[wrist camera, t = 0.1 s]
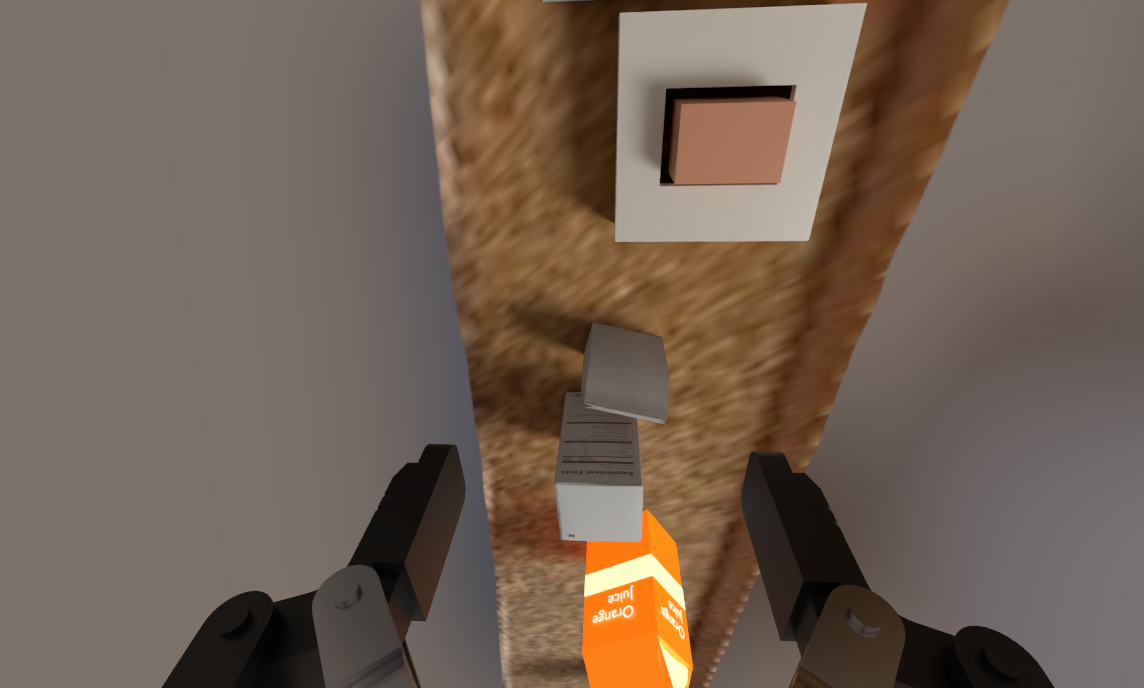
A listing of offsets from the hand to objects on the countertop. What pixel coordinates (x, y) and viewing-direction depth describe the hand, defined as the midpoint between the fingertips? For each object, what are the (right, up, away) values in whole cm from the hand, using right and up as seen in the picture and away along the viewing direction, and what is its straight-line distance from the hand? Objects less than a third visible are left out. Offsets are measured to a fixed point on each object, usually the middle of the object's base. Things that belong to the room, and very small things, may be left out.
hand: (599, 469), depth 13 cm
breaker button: (+9, +18, +19) cm, 28 cm away
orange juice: (+7, -21, +47) cm, 52 cm away
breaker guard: (+10, +19, +22) cm, 31 cm away
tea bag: (+4, +3, +32) cm, 33 cm away
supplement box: (+2, -4, +37) cm, 37 cm away
